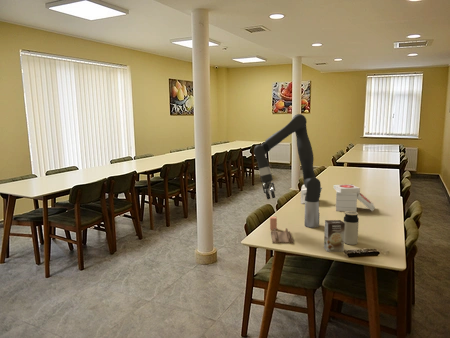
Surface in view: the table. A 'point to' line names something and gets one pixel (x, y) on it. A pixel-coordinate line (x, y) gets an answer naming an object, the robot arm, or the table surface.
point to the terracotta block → (273, 223)
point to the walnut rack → (281, 236)
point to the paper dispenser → (350, 198)
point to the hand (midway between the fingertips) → (271, 198)
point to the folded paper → (304, 194)
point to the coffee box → (334, 235)
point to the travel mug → (351, 227)
